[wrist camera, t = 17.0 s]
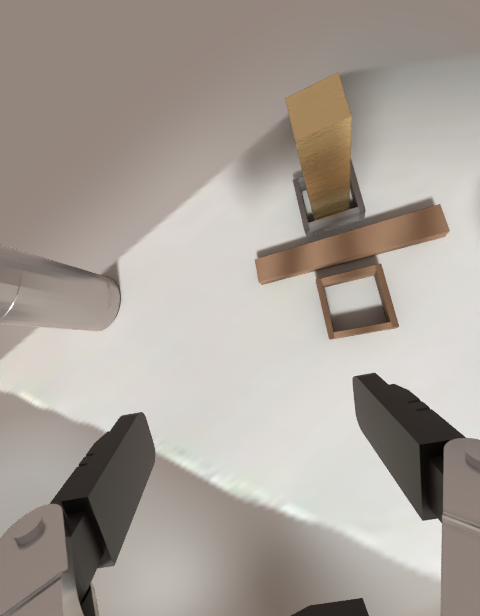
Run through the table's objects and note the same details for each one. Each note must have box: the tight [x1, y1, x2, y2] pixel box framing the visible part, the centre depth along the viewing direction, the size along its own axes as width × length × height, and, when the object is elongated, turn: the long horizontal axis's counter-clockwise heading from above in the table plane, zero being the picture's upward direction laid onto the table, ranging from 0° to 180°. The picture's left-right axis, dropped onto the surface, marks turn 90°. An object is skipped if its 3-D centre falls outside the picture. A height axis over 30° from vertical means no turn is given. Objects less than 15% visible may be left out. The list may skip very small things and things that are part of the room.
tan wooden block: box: [285, 73, 351, 221], centre depth 26 cm, size 4×4×14 cm
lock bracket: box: [255, 158, 450, 340], centre depth 30 cm, size 20×20×2 cm
